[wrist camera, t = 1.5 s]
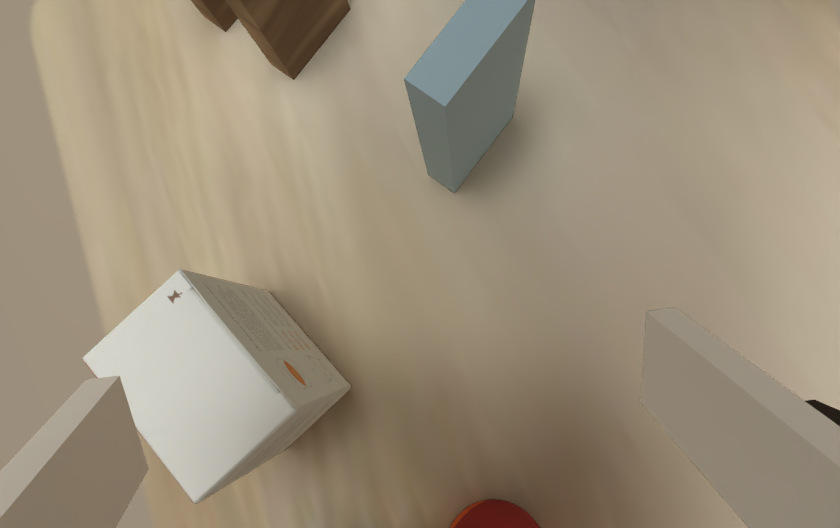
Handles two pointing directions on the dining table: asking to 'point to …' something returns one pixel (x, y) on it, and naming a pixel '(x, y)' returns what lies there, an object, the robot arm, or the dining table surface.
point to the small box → (216, 378)
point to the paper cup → (494, 516)
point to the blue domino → (468, 85)
